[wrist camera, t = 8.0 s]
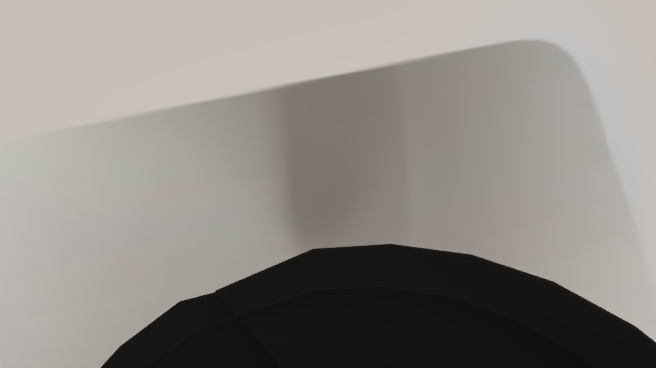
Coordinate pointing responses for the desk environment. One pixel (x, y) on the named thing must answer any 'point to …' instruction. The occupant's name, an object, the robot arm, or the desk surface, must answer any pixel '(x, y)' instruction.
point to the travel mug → (388, 318)
